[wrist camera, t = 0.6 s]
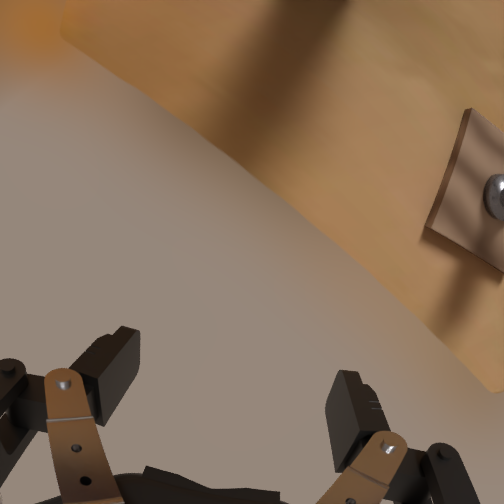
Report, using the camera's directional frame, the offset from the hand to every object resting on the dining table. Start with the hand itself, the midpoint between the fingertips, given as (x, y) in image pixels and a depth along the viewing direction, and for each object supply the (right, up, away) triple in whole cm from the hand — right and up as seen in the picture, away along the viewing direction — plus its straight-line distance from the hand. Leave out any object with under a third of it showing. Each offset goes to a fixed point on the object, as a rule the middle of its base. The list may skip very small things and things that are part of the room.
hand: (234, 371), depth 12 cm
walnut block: (+35, +13, +24) cm, 44 cm away
